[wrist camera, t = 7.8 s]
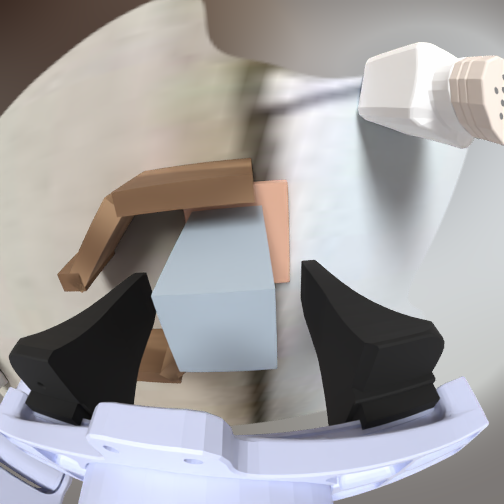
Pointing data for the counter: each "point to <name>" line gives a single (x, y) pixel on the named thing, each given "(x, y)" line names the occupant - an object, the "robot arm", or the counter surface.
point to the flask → (2, 380)
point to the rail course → (149, 201)
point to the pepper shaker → (435, 94)
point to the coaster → (269, 222)
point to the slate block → (220, 293)
